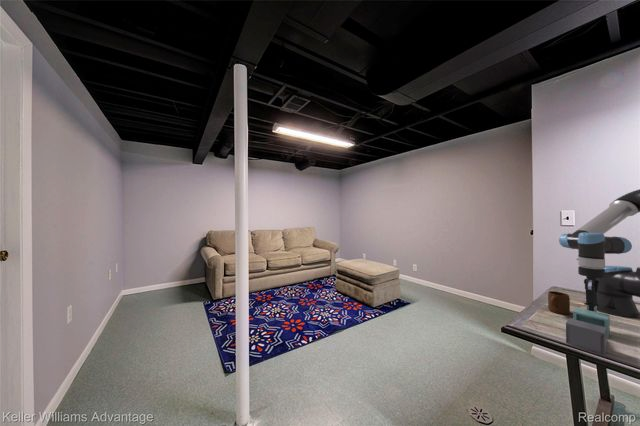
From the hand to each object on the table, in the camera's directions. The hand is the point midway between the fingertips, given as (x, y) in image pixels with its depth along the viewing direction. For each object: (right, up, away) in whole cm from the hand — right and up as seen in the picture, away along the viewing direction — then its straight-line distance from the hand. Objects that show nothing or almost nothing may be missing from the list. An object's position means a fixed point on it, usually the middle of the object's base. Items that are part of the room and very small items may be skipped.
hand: (591, 319), depth 99 cm
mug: (0, -4, +14) cm, 15 cm away
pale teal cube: (-5, -3, -3) cm, 7 cm away
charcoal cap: (-19, -3, -13) cm, 23 cm away
